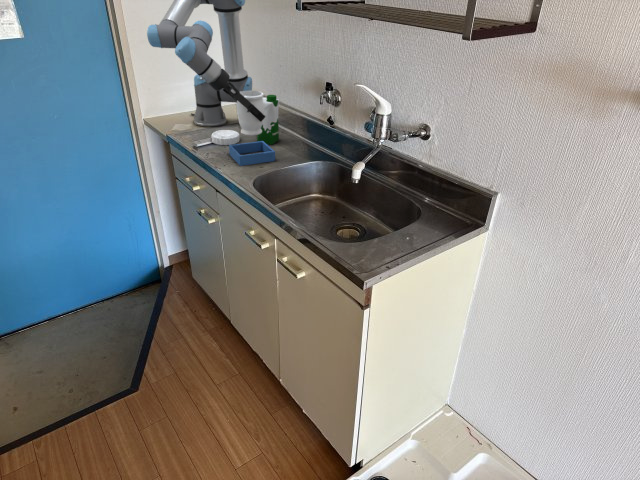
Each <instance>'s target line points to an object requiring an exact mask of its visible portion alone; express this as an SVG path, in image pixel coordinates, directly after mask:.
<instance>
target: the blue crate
mask: <svg viewBox="0 0 640 480" xmlns="http://www.w3.org/2000/svg"><path fill="white" fill-rule="evenodd" d="M228 150H229V151H228V154H229V156H230V157H231V158H232V159H233V160H234V161H235V163H237V165H238V166H240V167H242V166H249V165H250V166H251V165H255V164H263V163H271V162H275V161H276V150H274V149H273V148H272V147H271V146H269V144H266V143H265V142H264V141H259V142H257V141H251V142H243V143H242V142H241V143H236V144H232V145H228Z"/></svg>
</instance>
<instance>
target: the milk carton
mask: <svg viewBox="0 0 640 480" xmlns="http://www.w3.org/2000/svg"><path fill="white" fill-rule="evenodd" d="M262 99H263V103H264V115H265V116H266V117H265V118H264V119H263V124H262V127H261V130H262V133H261V134H258V135H256V142H259V141H264V142H265V143H266V144H267V145H271V146H272V145H274V144H276V142H279V140H280V131H279V130H280V129H279V126H280V125H279V107H280V99H278V98H277V95H276V94H267V95H266V97H264V96H263V98H262Z"/></svg>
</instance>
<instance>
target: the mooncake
mask: <svg viewBox="0 0 640 480" xmlns="http://www.w3.org/2000/svg"><path fill="white" fill-rule="evenodd" d="M210 135H211V142H212V143H213V144H214V145H217V146H229V145H234V144H239V142H240V140H241V139H240V136H241V135H240V133H239V132H238V131H237V130H233V129H219V130H216V131H213V132H212V134H210Z"/></svg>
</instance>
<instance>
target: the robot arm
mask: <svg viewBox="0 0 640 480" xmlns="http://www.w3.org/2000/svg"><path fill="white" fill-rule="evenodd" d="M245 4H246V0H173V1H172V3H171V4H170V6H169V7H168V9H167V11H166V13H165V14H164V16H163V18H162V19H161V21H160V22H159V24H156V23H155V24H150V25H148V26H147V30H146V37H147V40H148V43H149V45H150V46H151V47H153V48H160V49H174V53H175V55H176V56H177V57H178V59H180V60H181V62H182V63H183V64H184V65H186V66H188V67H189V69H191V70H192V71H193V72H194V73H195V75H194V77H193V88H194V96H195V104H196V107H195V112H194V113H190V115H191V116H193V123H194V125H196V126H198V127H203V128H214V127H216V128H217V127H220V126H224V125H225V124H227V117H226V114H225V112H224V110H223V107H222V103H223V102H224V103H235V104H237V100H238V101H239V102H240V103H241V104H242V105H243V106H244V107H246V108H247V109H248V111H247V112H250V113H252V114H253V115H254V116H255V117H256V118H257V119H258V120H259V121H260V122H261V121H262V120H263V119H264V118H265V117H266V116H265V115H263V114H262V113H261V112H260V111H259V110H258V109H257V108H256V107H255V106H254V105H253V104H251V103H250V102H249V101H248V100H247V99H246V98H245V97H244V96H243V95H242V94H240V92H241V91H253V78H252V76H251V77H250V76H249V74H248V71H247V70H246V69H245V67H244V55H243V45H242V35H241V24H240V12H241V11H242V9H243V8H242V7H243V6H245ZM200 5H212V7H213V11H214V13H216V14H217V18H218V25H219V34H220V42H221V50H222V59H223V68H222V66H221V65H220V64H219V63H218V62H217V61H216V60H214V59H213V57H211V56H210V55H209V54H208V51H209V49H210V45H211V43H212V41H213V35H214V31H213V28H212V26H211V24H209V23H208V22H207V21H205V20H196V21H195V22H194V23H193V24H192V25H191V26H190V25H186V24H187V23H188V21H189V19H190V17H191V16H192V13H193V12H194V10H195V9H196V8H199V6H200Z"/></svg>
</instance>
